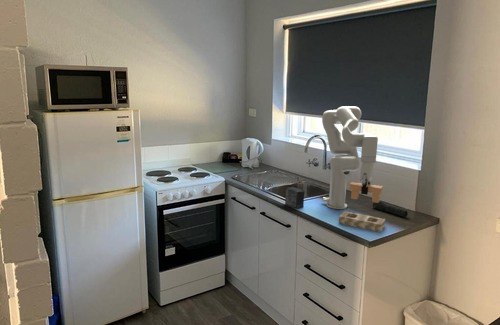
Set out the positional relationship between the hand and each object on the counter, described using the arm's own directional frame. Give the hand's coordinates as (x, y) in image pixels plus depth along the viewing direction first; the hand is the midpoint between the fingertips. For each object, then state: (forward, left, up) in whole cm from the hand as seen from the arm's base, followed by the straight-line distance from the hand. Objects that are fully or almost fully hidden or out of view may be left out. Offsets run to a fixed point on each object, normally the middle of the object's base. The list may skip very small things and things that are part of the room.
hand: (365, 192), depth 203 cm
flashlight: (+9, +29, -18) cm, 35 cm away
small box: (-43, +8, -18) cm, 48 cm away
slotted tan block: (0, -1, -18) cm, 18 cm away
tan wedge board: (0, 0, -4) cm, 4 cm away
